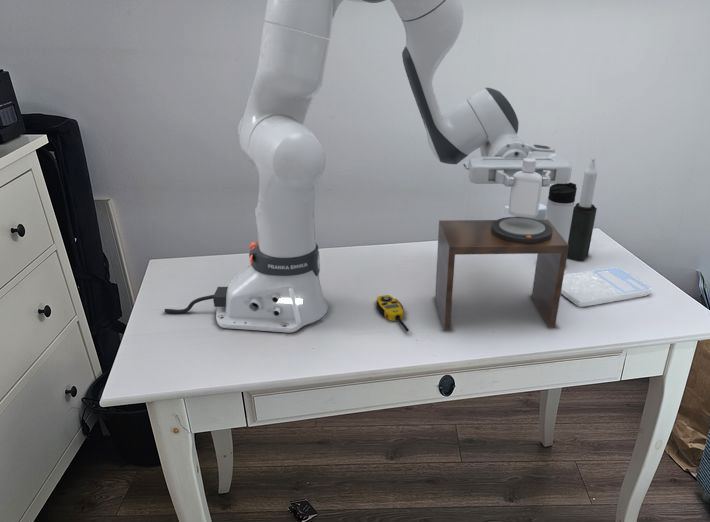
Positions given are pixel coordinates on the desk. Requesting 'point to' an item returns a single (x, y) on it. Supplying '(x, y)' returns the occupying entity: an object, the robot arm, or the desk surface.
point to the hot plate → (521, 230)
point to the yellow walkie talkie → (391, 309)
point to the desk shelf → (480, 240)
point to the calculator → (602, 286)
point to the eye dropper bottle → (526, 190)
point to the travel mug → (561, 207)
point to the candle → (583, 218)
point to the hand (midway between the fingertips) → (528, 182)
